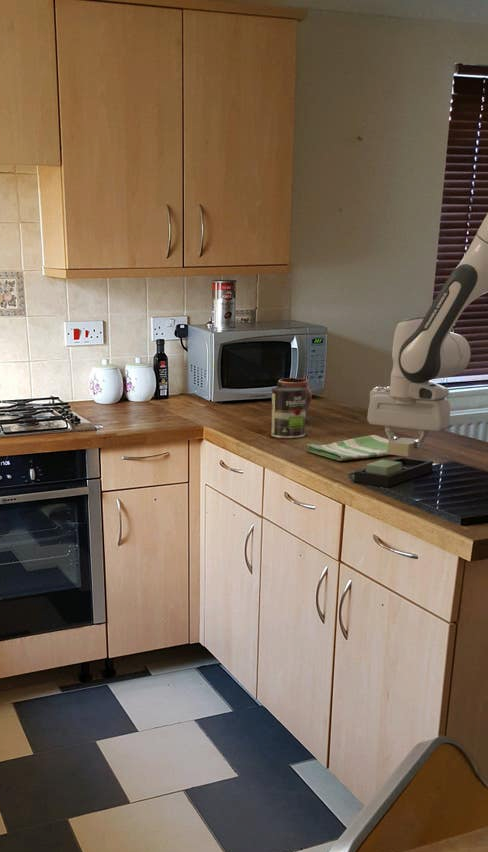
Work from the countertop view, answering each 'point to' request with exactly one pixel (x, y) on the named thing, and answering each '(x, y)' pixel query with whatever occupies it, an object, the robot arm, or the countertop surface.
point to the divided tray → (409, 471)
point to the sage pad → (384, 467)
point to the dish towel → (353, 448)
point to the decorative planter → (297, 383)
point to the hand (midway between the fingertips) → (405, 446)
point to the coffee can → (288, 412)
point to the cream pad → (403, 447)
